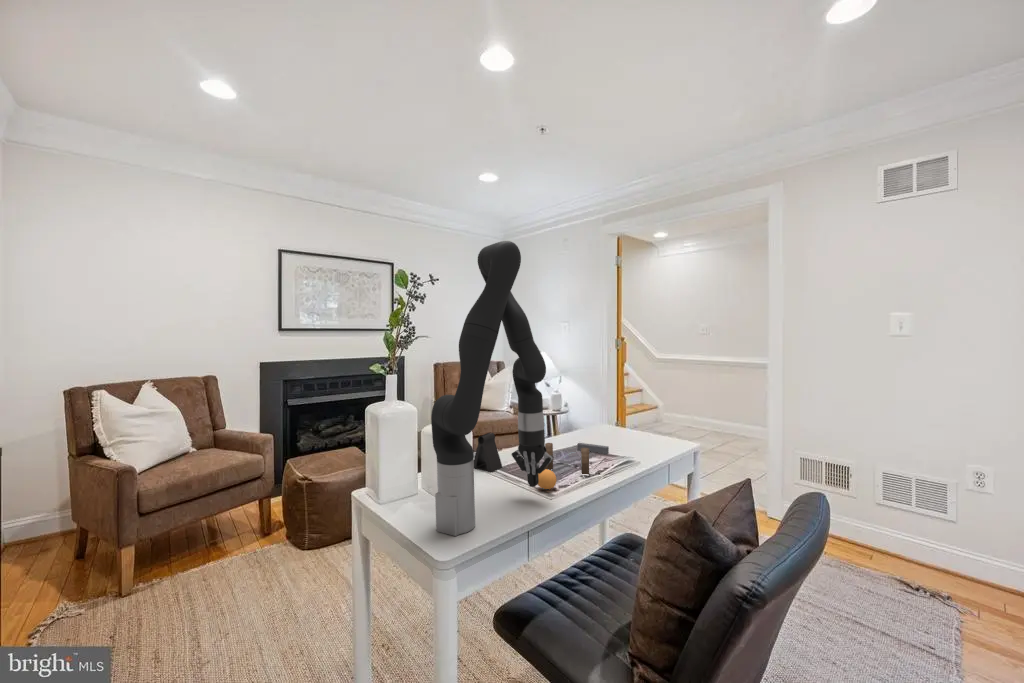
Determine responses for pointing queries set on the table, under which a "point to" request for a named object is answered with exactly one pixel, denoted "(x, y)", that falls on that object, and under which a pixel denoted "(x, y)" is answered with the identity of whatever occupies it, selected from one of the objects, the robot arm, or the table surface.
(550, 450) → the left post
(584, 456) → the right post
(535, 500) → the table surface
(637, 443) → the table surface
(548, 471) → the ball
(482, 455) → the phone stand
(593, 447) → the wall
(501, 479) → the table surface
